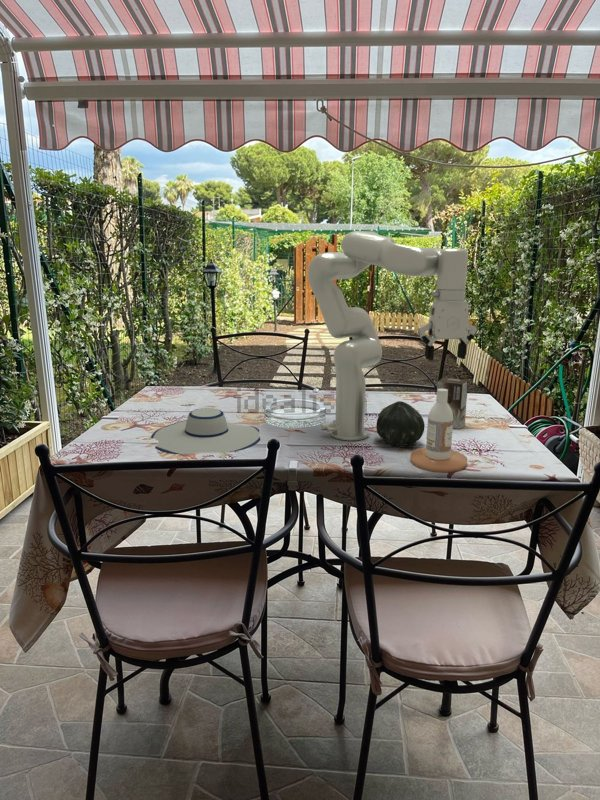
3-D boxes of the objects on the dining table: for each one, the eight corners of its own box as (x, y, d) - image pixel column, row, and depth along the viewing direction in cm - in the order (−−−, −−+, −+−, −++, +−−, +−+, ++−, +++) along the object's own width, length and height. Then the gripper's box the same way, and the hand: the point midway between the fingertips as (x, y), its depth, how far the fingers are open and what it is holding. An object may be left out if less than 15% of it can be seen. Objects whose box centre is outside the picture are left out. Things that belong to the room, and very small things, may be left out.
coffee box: (465, 425, 195) (469, 380, 191) (459, 429, 190) (463, 383, 185) (440, 420, 200) (443, 377, 195) (433, 425, 194) (437, 380, 190)
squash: (409, 416, 186) (388, 387, 178) (440, 430, 173) (418, 399, 165) (382, 447, 184) (359, 419, 176) (411, 463, 171) (387, 434, 163)
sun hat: (136, 432, 187) (134, 406, 185) (232, 417, 206) (232, 393, 204) (173, 466, 158) (171, 436, 155) (282, 444, 176) (282, 416, 174)
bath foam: (441, 462, 155) (446, 394, 150) (421, 456, 160) (425, 389, 155) (454, 456, 160) (460, 389, 155) (434, 450, 165) (438, 385, 160)
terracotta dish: (425, 474, 151) (426, 469, 151) (401, 454, 166) (401, 449, 166) (477, 469, 155) (478, 464, 155) (449, 450, 170) (449, 445, 170)
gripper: (427, 297, 143) (422, 362, 147) (486, 296, 147) (480, 360, 151) (414, 295, 150) (410, 357, 154) (471, 294, 154) (466, 355, 158)
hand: (445, 358), depth 153 cm, fingers open, 9 cm apart
